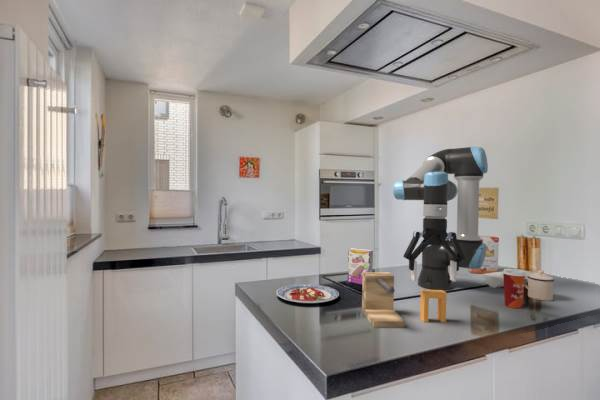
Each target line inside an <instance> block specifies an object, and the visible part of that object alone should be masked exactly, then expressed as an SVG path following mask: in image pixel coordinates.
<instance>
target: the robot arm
mask: <svg viewBox="0 0 600 400" xmlns="http://www.w3.org/2000/svg"><path fill="white" fill-rule="evenodd" d="M486 173H488V157H487V153H486V151H485V149H484V148H483V147H481V146H470V147H457V148H445V149H441V150H440V151H437V152H435V153H433V154H431V155H428V157H427V158H426V159H424V161H423V162H422V165H421V166H420V167H419V168H418V169H417V170H416V171H415V172H413V173H412V174H411V175H410V176H409V177H408V178H406V179H405V180H402V179H401V180H397V181H395V182H394V184H393V187H392V188H393V189H392V194H393V197H394V198H395V199H396V200H398V201H399V200H402V201H423V209H422V210H423V213H422V215H423V219H422V231H421V232H420V231H416V230H415V231H413V234H412V238H411V241H410V242H409V243H408V245H407V248H406V250H405V251H404V254H403V258H404V259H406V260H408V270H409V271H411V272H410V277H411V278H410V279H411V280H412V281H413V282H417V286H420V287H421V288H423V289H424V288H425V289H428V290H443V291H445V290H446V291H447V290H452V288H453V282H457V272H459V271H460V268H463V269H467V270H468V269H480V268H481V267H482V265H483V262H484V259H485V254H486V244H484V243H482V239H481V238H480V237H479V236H480V235H479V215H480V214H479V211H480V208H479V207H480V204H479V203H480V201H479V200H480V181H481V180H482V179H484V174H486ZM449 175H453V178H454V179H455V180H456V181H457V184H456V183H454V182H453V181H451V180H449ZM456 196H457V199H456V200H457V206H456V209H457V212H456V232H455V231H454V232H453V231H449V232H447V230H448V229H447V228H448V219H447V217H448V202H449V201H451V200H454V199H455V198H456ZM421 238H423V239H422V240H421V242H420V244H419V245H418V246H417V244H418V243H419V240H420V239H421ZM416 246H417V247H416ZM420 255H421V270H420V272H419V275H418V277H417V273H418V269H417V268H418V261H416V259H417V258H418V257H419V256H420ZM449 271H450V272H449Z"/></svg>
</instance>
